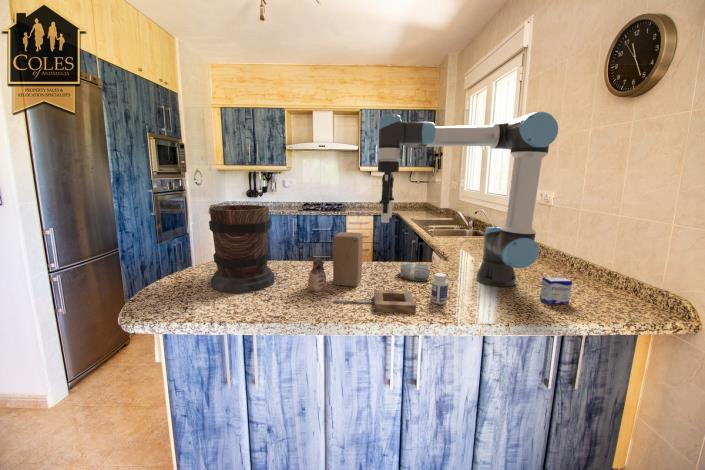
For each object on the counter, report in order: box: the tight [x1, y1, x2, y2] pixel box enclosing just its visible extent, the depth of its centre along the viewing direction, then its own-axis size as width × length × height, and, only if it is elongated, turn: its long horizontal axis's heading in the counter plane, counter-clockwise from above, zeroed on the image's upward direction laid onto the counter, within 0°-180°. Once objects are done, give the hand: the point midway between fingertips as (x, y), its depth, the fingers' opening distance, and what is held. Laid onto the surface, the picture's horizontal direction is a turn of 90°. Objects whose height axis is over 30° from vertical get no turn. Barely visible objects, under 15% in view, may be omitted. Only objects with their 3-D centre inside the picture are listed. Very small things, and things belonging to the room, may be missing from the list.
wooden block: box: [332, 231, 363, 288], centre depth 130 cm, size 10×10×20 cm
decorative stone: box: [399, 261, 430, 282], centre depth 139 cm, size 13×10×6 cm
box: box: [539, 276, 573, 305], centre depth 114 cm, size 8×4×9 cm, turn 94°
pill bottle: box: [430, 272, 449, 305], centre depth 113 cm, size 5×5×10 cm
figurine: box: [307, 257, 328, 293], centre depth 123 cm, size 7×7×12 cm
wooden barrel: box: [208, 204, 275, 294], centre depth 130 cm, size 24×30×30 cm
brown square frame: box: [333, 289, 417, 314], centre depth 111 cm, size 27×13×2 cm, turn 87°
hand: (386, 219), depth 120 cm, fingers open, 13 cm apart
